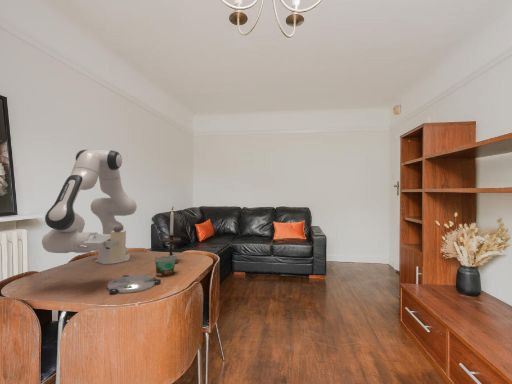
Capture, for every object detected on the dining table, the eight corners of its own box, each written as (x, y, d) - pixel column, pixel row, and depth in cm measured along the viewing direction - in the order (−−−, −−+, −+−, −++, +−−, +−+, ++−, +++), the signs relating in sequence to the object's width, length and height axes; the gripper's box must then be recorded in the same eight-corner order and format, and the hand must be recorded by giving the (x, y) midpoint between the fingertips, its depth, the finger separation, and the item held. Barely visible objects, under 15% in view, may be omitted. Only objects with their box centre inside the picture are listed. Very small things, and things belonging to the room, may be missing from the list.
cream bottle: (113, 258, 119) (114, 225, 119) (125, 258, 120) (126, 225, 120) (109, 261, 113) (110, 226, 113) (121, 261, 114) (122, 226, 114)
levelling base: (116, 278, 126) (116, 273, 126) (163, 276, 131) (163, 271, 131) (99, 295, 105) (100, 289, 105) (156, 292, 110) (157, 286, 110)
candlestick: (183, 262, 159) (185, 205, 160) (169, 266, 150) (170, 206, 150) (172, 259, 165) (173, 205, 165) (157, 263, 156) (159, 205, 156)
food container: (161, 279, 126) (162, 259, 127) (153, 277, 130) (154, 257, 130) (181, 273, 137) (181, 254, 137) (173, 271, 140) (173, 252, 140)
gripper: (75, 239, 104) (112, 239, 107) (95, 232, 124) (126, 231, 127) (74, 255, 104) (112, 254, 107) (95, 245, 124) (126, 244, 127)
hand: (120, 242), depth 117 cm, fingers closed on cream bottle, 5 cm apart
